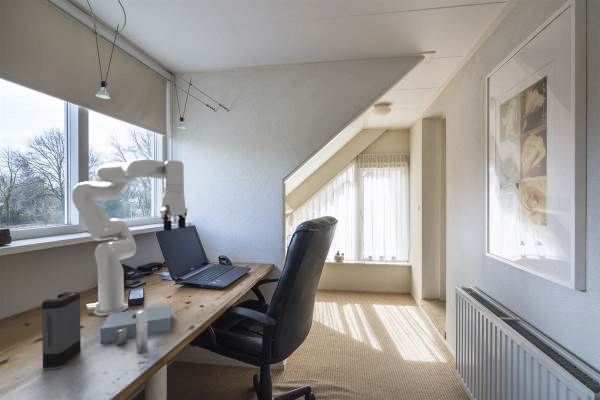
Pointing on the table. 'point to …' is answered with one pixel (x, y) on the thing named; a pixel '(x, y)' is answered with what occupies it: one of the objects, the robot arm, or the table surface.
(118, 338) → the short pin
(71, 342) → the electronic device
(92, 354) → the table surface
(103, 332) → the bore block
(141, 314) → the long pin
